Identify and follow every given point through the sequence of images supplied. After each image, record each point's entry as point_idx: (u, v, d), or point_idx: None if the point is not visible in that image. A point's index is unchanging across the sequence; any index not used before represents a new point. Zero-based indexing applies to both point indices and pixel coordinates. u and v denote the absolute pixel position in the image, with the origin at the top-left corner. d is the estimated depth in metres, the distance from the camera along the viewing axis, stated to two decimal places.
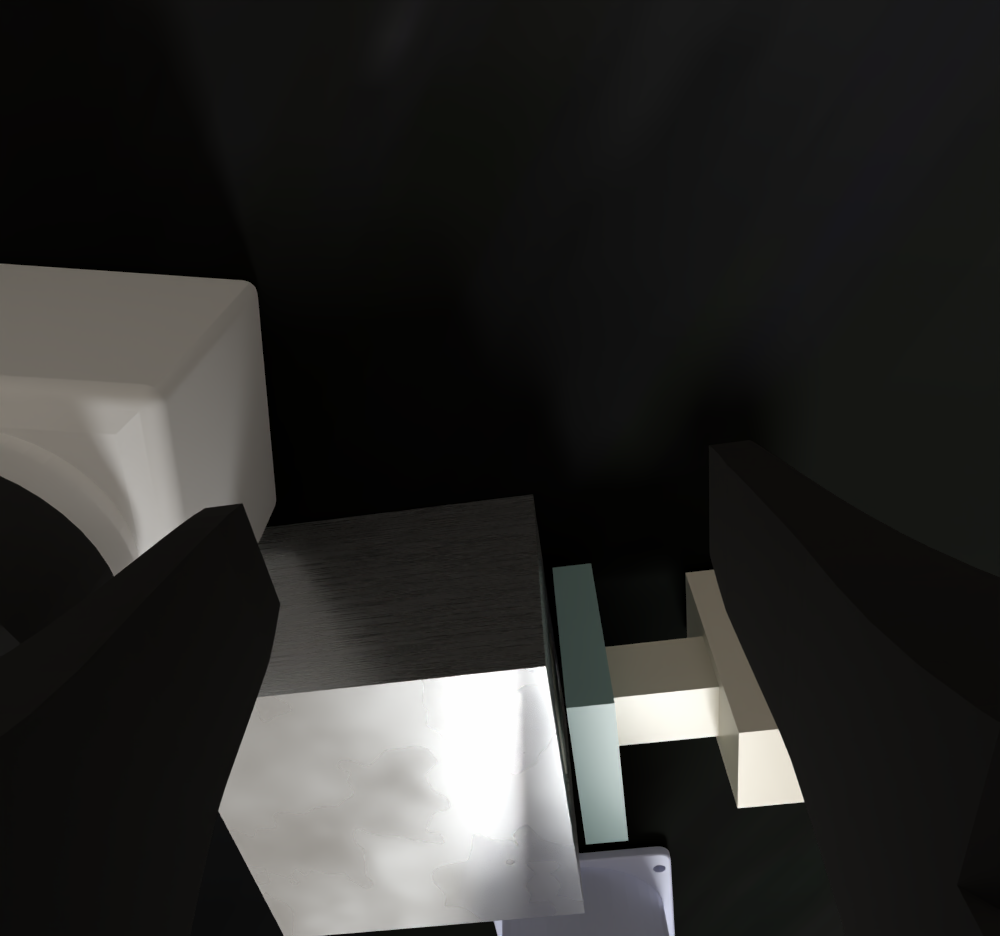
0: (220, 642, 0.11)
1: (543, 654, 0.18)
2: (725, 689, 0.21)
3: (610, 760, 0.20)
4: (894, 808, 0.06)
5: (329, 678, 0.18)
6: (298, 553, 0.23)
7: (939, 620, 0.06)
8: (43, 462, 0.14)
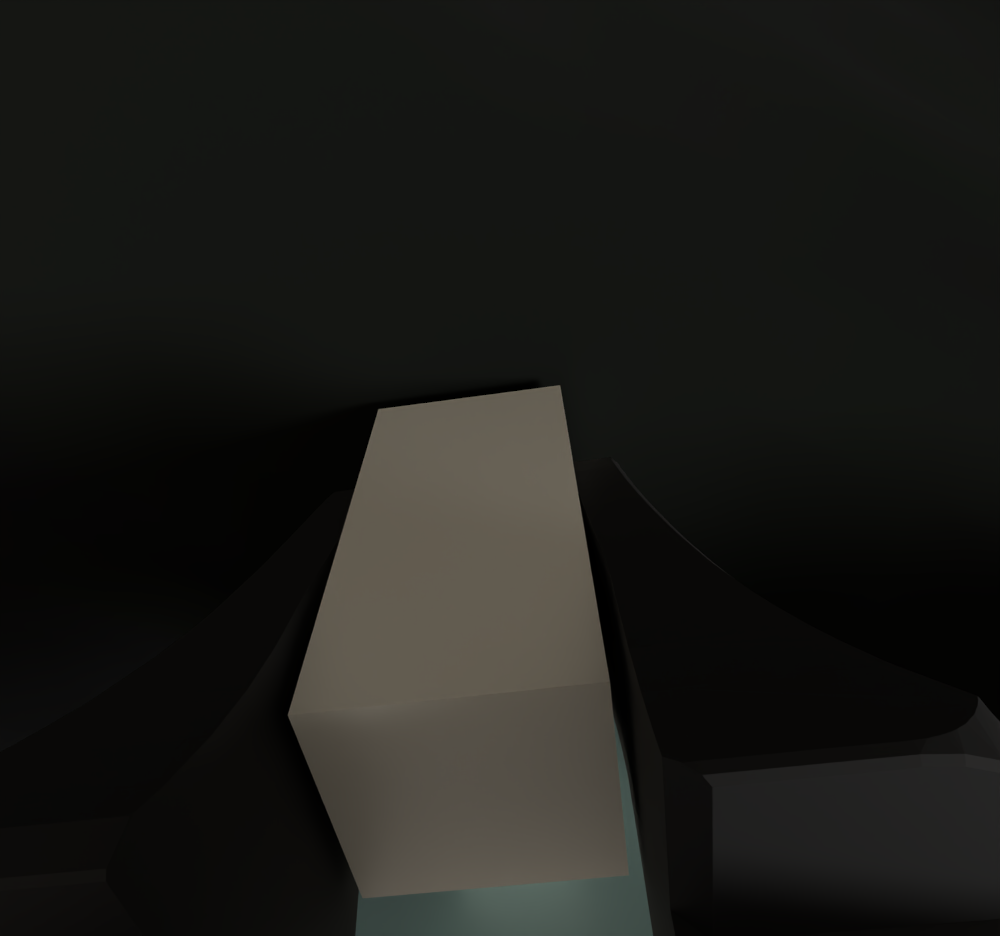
0: None
1: None
2: None
3: None
4: (652, 830, 0.07)
5: None
6: None
7: (691, 647, 0.06)
8: None
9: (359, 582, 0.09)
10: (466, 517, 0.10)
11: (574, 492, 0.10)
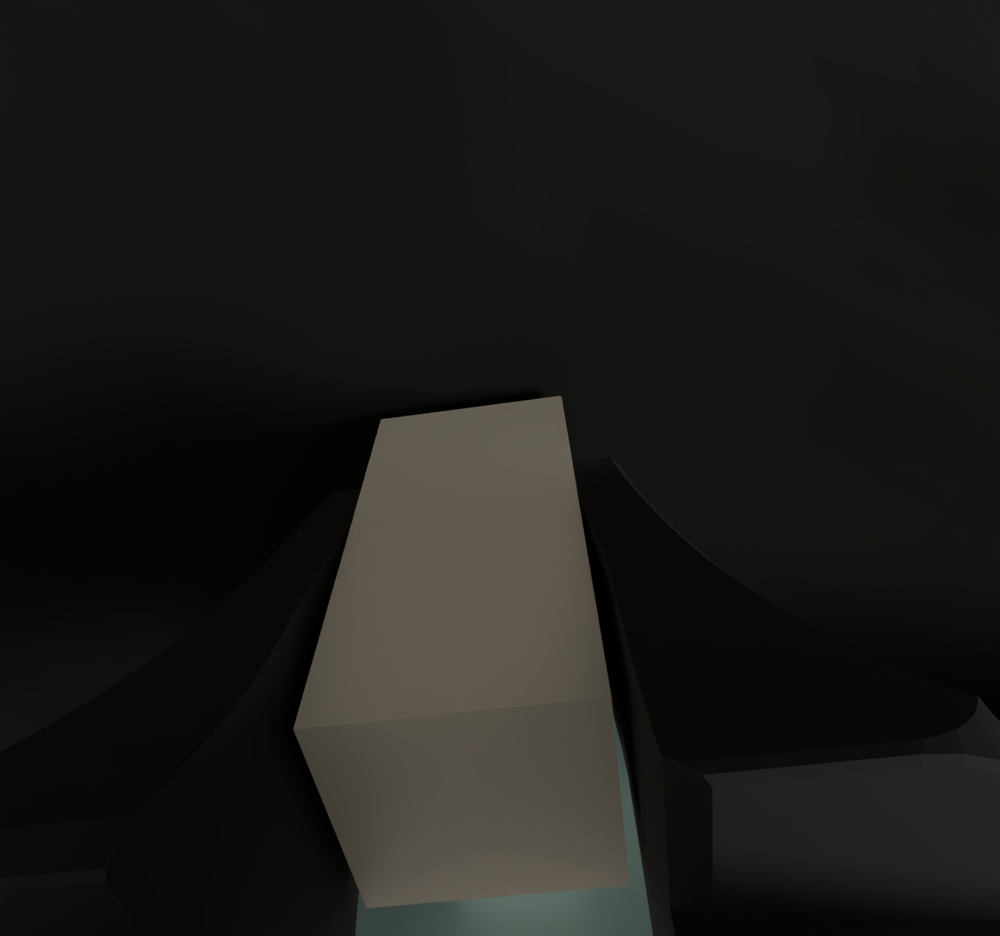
0: None
1: None
2: None
3: None
4: (650, 830, 0.07)
5: None
6: None
7: (691, 647, 0.06)
8: None
9: (363, 595, 0.09)
10: (468, 530, 0.10)
11: (575, 505, 0.10)
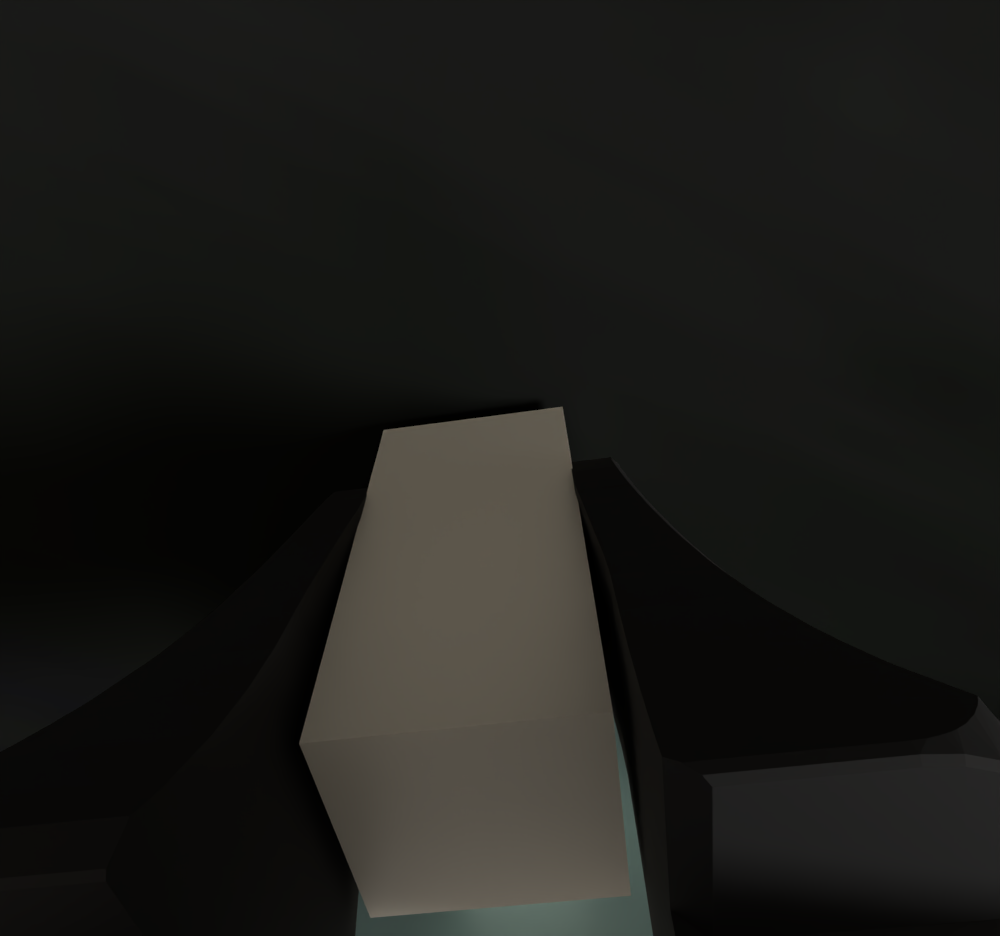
0: None
1: None
2: None
3: None
4: (650, 830, 0.07)
5: None
6: None
7: (692, 647, 0.06)
8: None
9: (367, 608, 0.09)
10: (470, 542, 0.10)
11: (577, 518, 0.10)
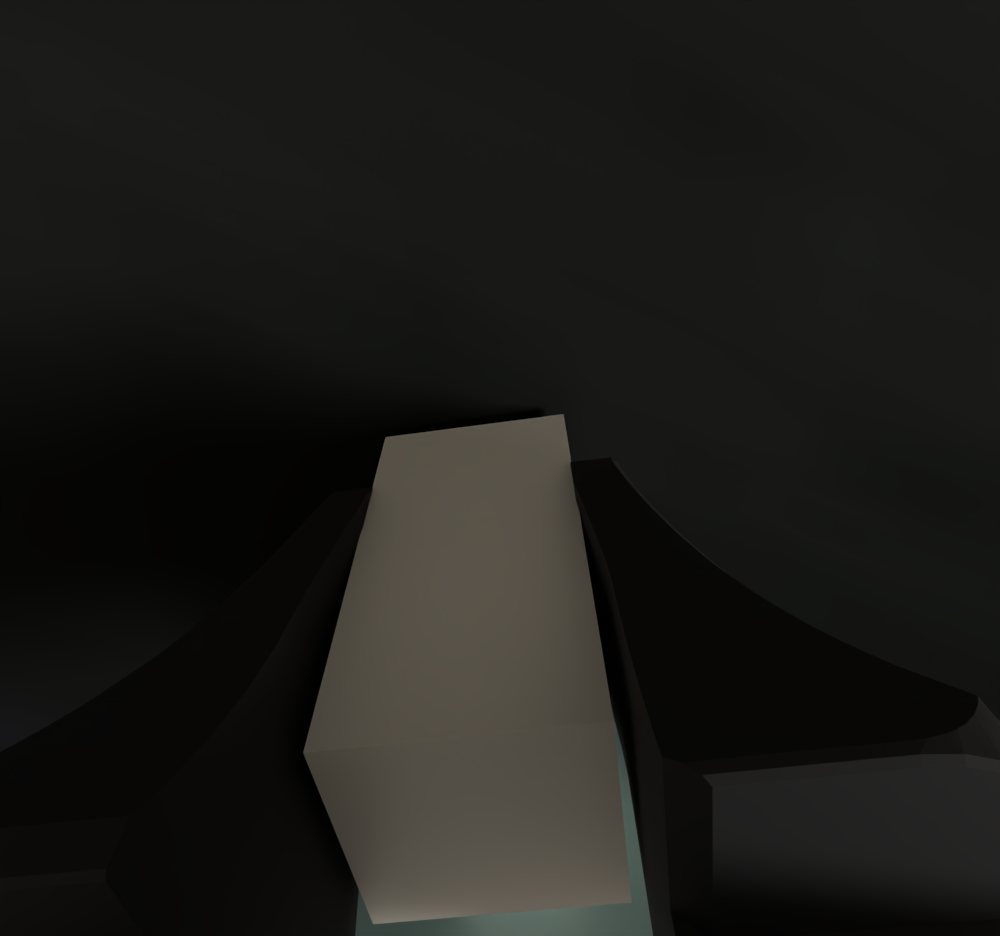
0: None
1: None
2: None
3: None
4: (650, 830, 0.07)
5: None
6: None
7: (691, 647, 0.06)
8: None
9: (370, 617, 0.09)
10: (472, 551, 0.10)
11: (578, 526, 0.10)
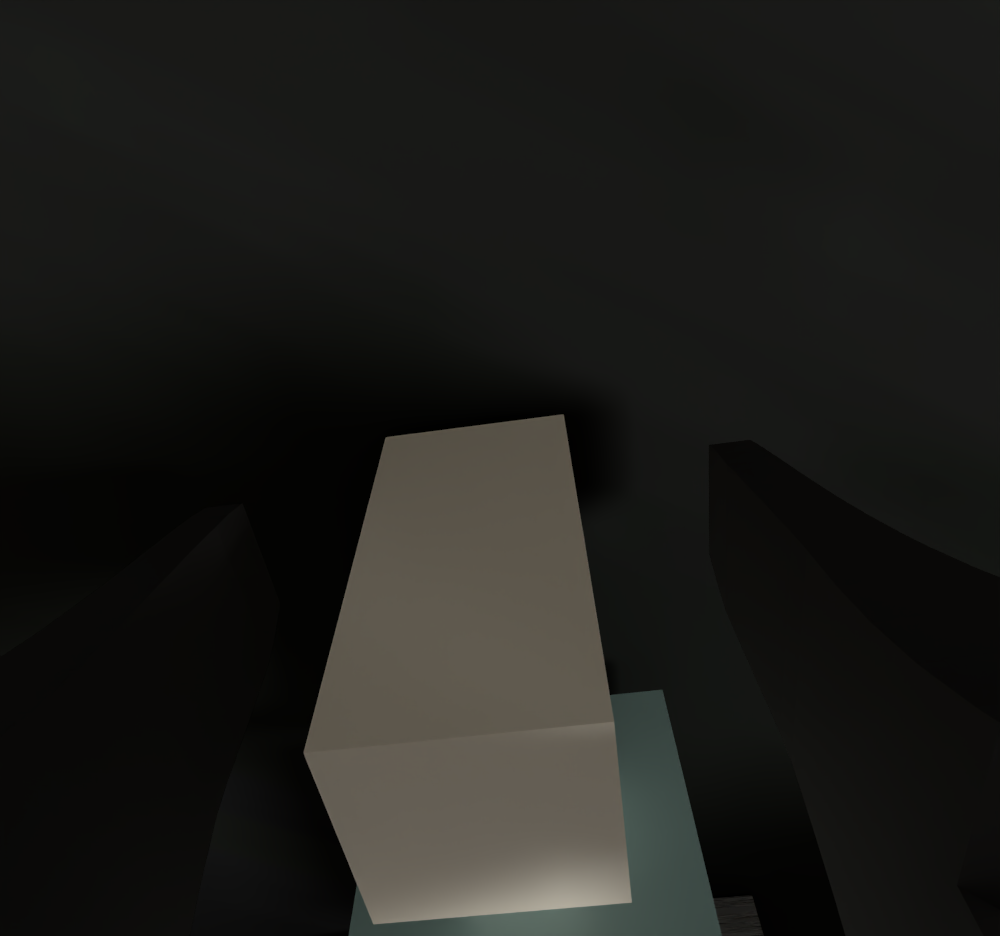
0: (220, 642, 0.11)
1: None
2: None
3: None
4: (893, 808, 0.06)
5: None
6: None
7: (939, 620, 0.06)
8: None
9: (370, 617, 0.09)
10: (472, 551, 0.10)
11: (578, 526, 0.10)
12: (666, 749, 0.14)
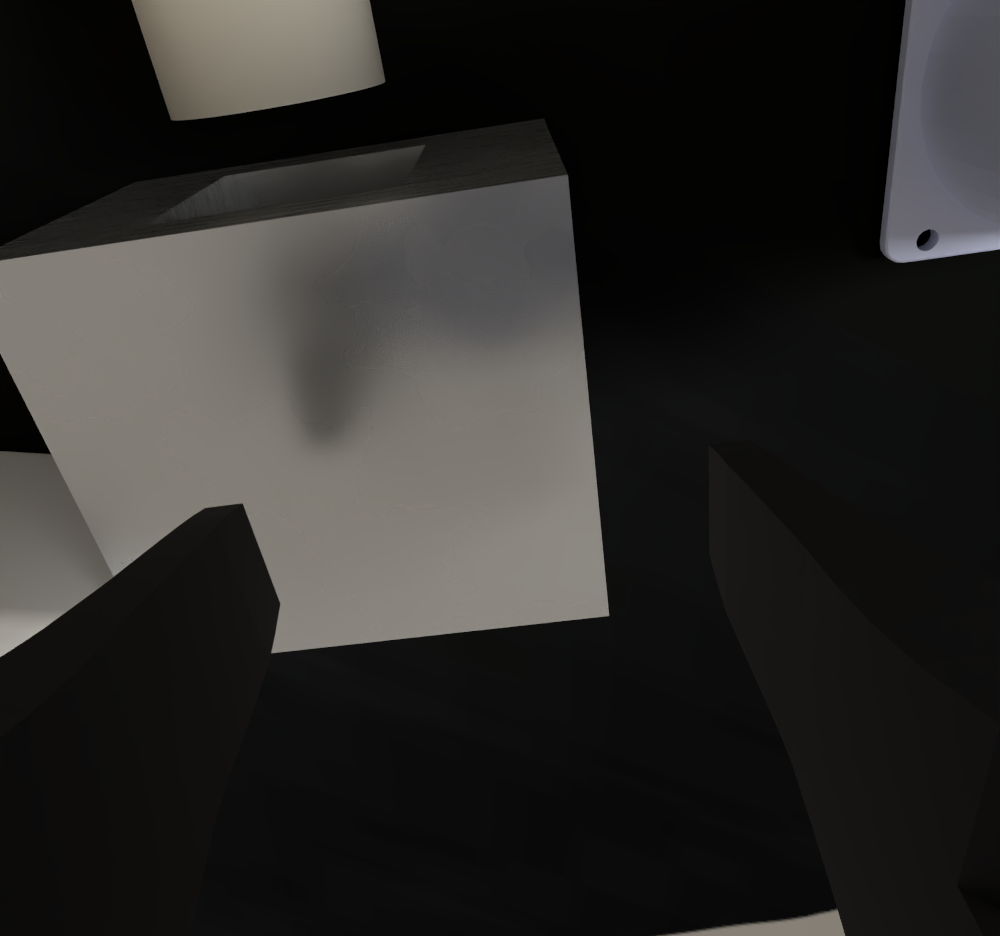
0: (220, 642, 0.11)
1: None
2: None
3: None
4: (893, 809, 0.06)
5: None
6: None
7: (941, 620, 0.06)
8: None
9: None
10: None
11: None
12: None
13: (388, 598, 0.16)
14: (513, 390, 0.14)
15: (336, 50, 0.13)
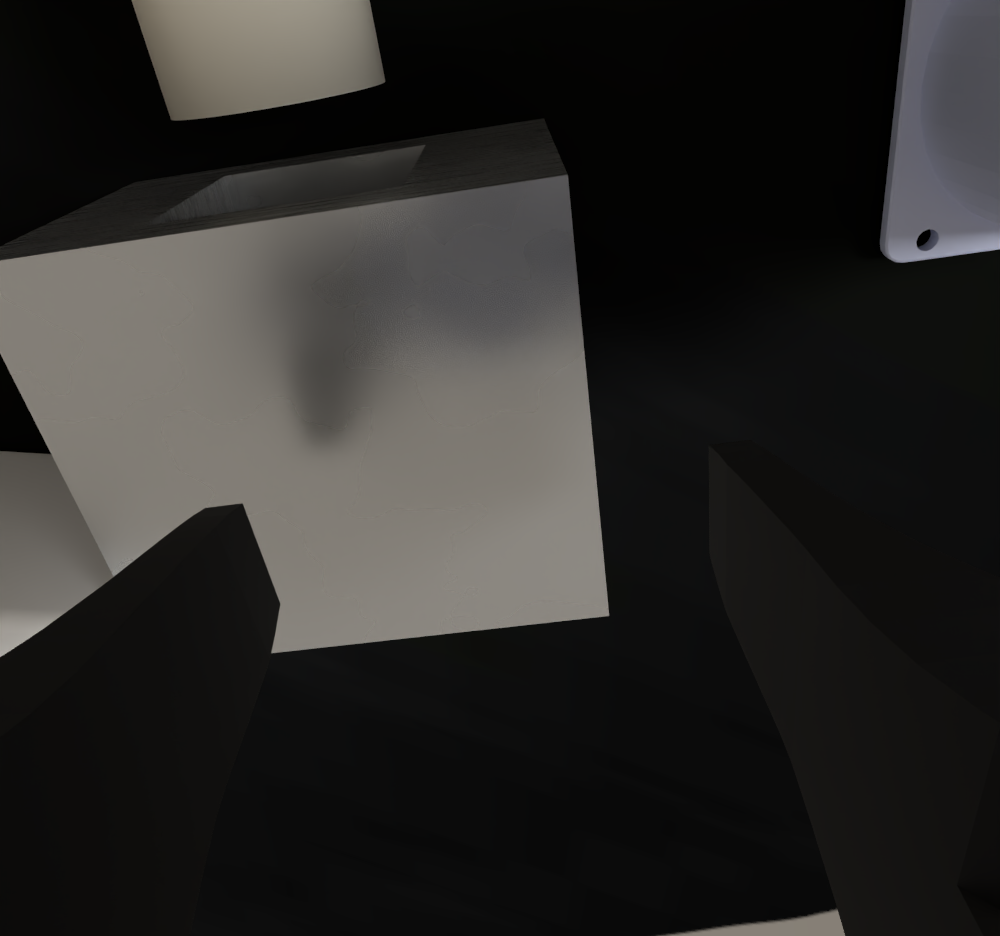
0: (220, 642, 0.11)
1: None
2: None
3: None
4: (893, 809, 0.06)
5: None
6: None
7: (941, 620, 0.06)
8: None
9: None
10: None
11: None
12: None
13: (388, 598, 0.16)
14: (513, 390, 0.14)
15: (336, 50, 0.13)
